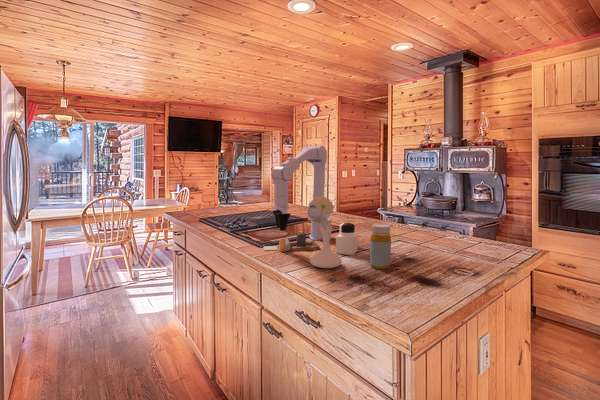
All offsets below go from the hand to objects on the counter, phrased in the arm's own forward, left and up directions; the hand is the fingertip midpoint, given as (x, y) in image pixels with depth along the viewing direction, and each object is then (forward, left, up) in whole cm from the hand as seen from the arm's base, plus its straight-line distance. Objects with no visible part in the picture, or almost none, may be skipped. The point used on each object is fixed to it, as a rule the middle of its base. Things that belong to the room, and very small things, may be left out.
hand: (281, 228), depth 140 cm
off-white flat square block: (+4, -4, -10) cm, 11 cm away
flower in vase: (-13, +22, -10) cm, 27 cm away
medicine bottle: (-26, +7, -10) cm, 29 cm away
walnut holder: (-10, -4, -10) cm, 15 cm away
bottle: (-32, +27, -10) cm, 43 cm away
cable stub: (-9, -4, -10) cm, 14 cm away
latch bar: (-2, -4, -9) cm, 10 cm away
